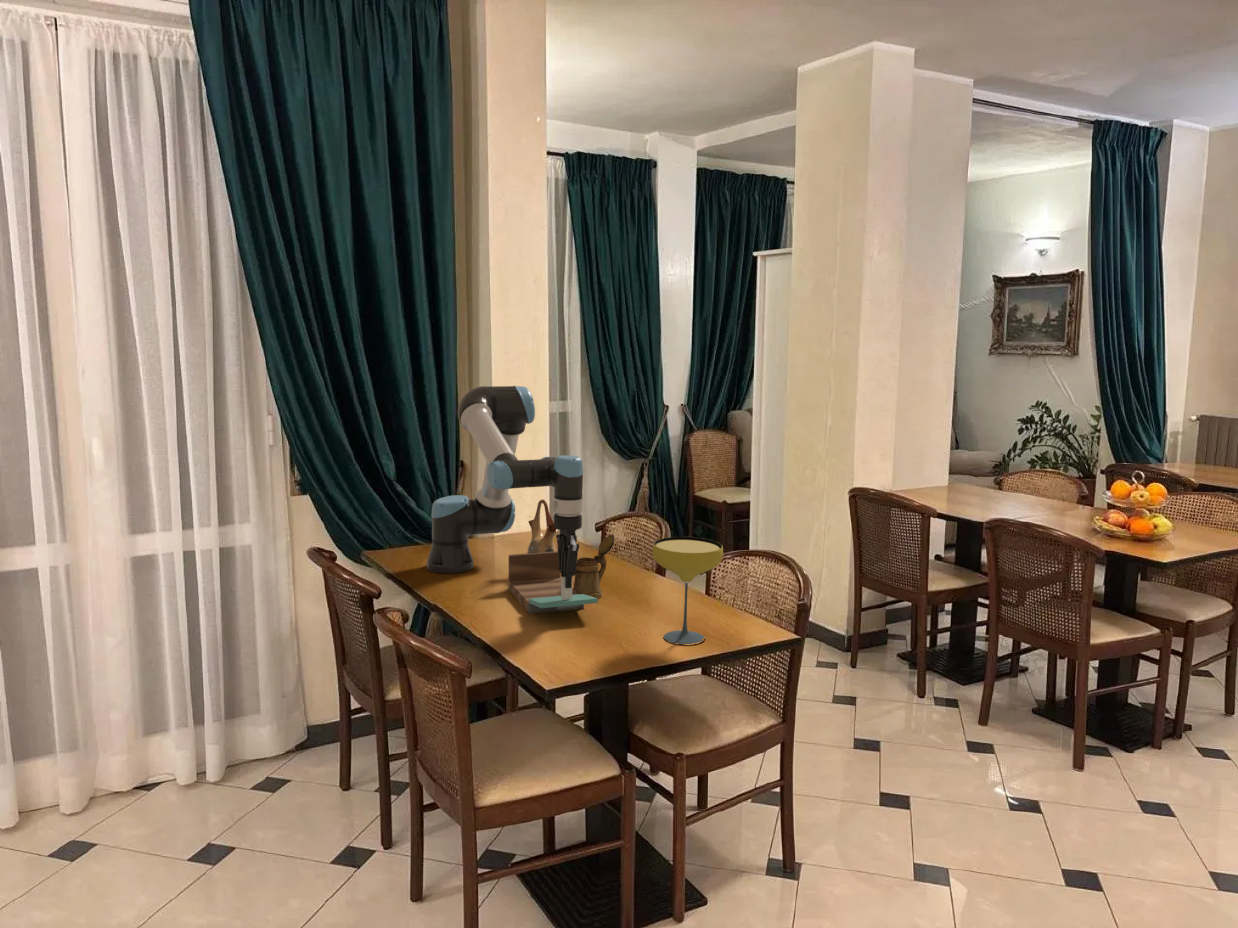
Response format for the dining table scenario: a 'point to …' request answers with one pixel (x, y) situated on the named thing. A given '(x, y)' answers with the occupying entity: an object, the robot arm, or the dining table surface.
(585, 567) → the wooden mug
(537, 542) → the ceramic vessel
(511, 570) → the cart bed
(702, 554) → the cocktail glass
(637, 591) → the dining table surface
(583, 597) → the panel
